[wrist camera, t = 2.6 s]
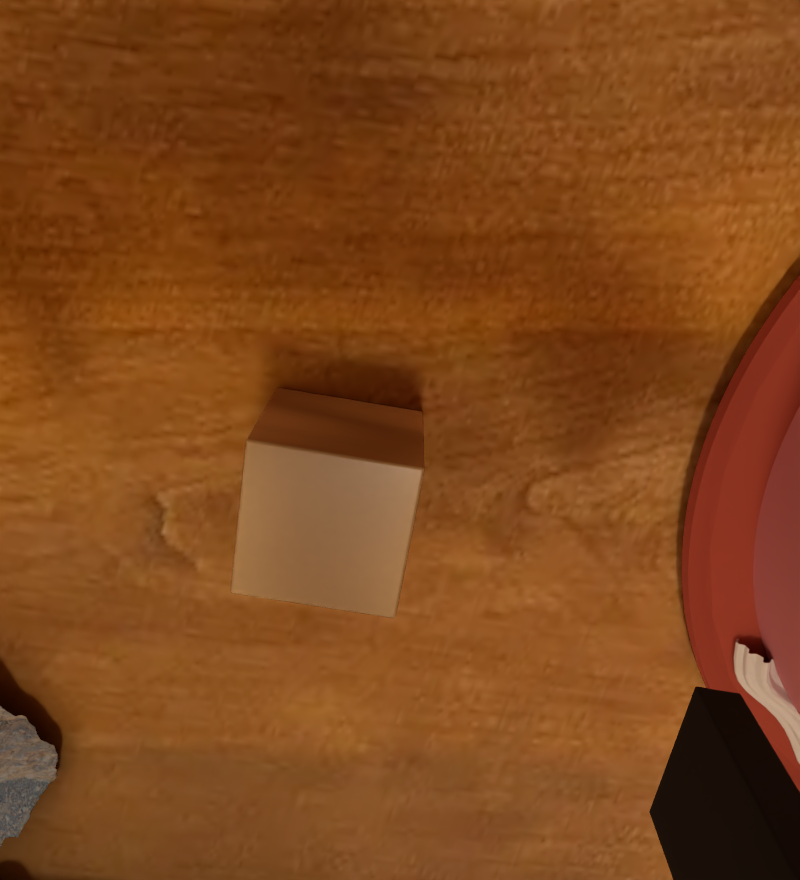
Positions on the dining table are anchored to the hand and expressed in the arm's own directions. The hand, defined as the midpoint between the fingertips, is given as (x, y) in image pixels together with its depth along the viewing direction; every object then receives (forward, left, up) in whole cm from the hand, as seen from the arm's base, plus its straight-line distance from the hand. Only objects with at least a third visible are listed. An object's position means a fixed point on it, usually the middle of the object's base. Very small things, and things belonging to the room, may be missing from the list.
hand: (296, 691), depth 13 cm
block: (0, 0, -9) cm, 9 cm away
